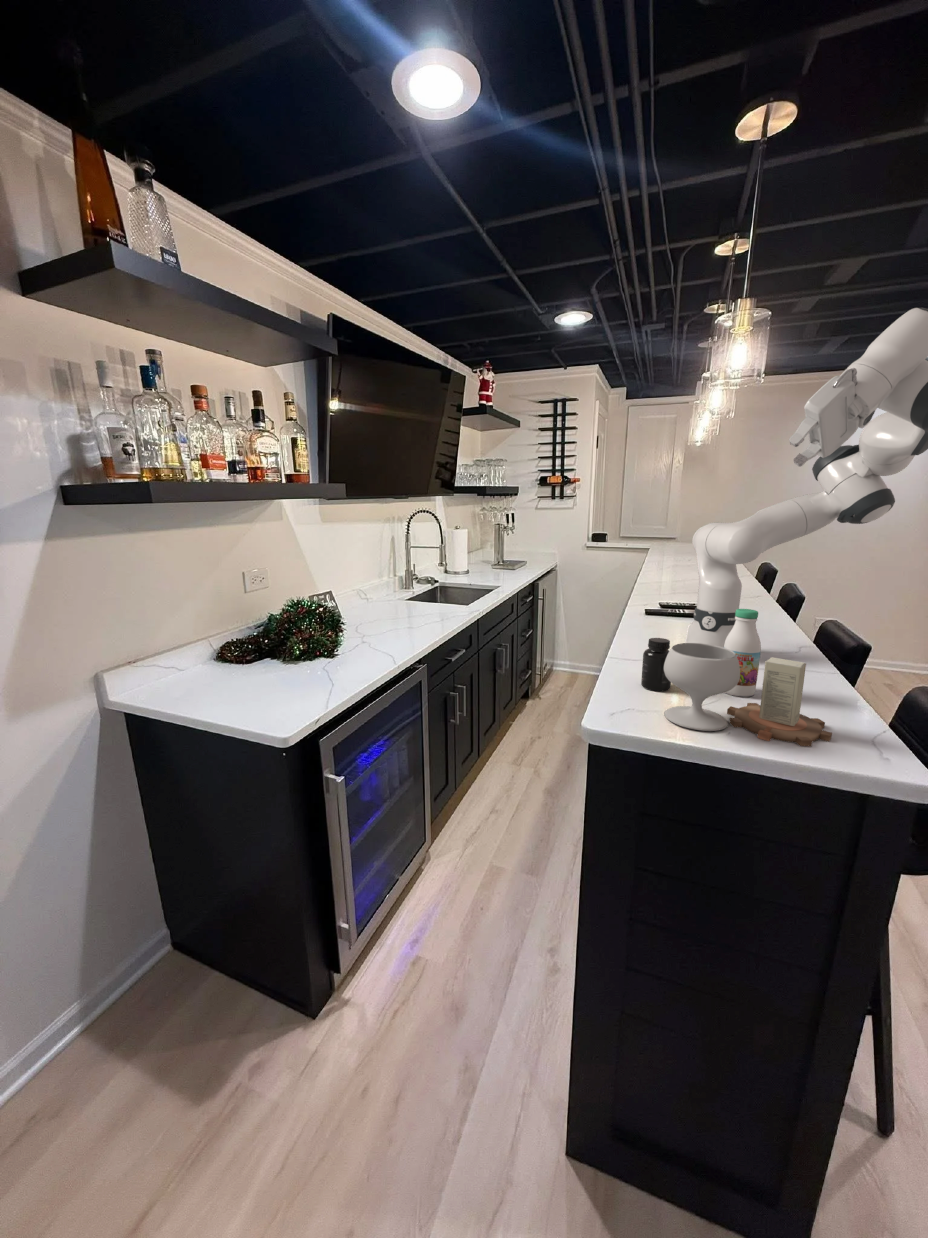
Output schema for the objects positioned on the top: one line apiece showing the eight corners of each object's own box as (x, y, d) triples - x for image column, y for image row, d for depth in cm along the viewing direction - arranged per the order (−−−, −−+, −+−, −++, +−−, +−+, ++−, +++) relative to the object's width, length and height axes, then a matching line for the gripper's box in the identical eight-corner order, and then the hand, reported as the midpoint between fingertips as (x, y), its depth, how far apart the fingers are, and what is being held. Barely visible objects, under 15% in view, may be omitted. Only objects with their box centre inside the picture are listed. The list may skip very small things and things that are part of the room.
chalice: (657, 727, 100) (664, 655, 96) (661, 702, 112) (667, 638, 109) (735, 740, 94) (746, 664, 91) (730, 713, 106) (739, 646, 103)
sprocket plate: (741, 701, 113) (742, 695, 113) (839, 726, 100) (840, 719, 100) (713, 725, 100) (714, 718, 100) (820, 756, 88) (821, 749, 88)
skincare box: (799, 721, 99) (808, 662, 97) (793, 727, 96) (803, 667, 94) (763, 712, 104) (771, 655, 101) (756, 718, 101) (765, 660, 98)
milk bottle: (716, 684, 124) (726, 606, 120) (751, 688, 121) (762, 608, 117) (720, 695, 117) (731, 612, 112) (758, 699, 114) (770, 614, 110)
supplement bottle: (665, 683, 125) (670, 636, 122) (674, 692, 118) (679, 644, 116) (637, 681, 126) (641, 635, 123) (644, 691, 119) (648, 643, 116)
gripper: (873, 369, 84) (804, 438, 88) (869, 426, 100) (811, 481, 104) (839, 355, 87) (774, 422, 92) (840, 411, 103) (785, 466, 108)
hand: (794, 454), depth 98 cm, fingers open, 8 cm apart
